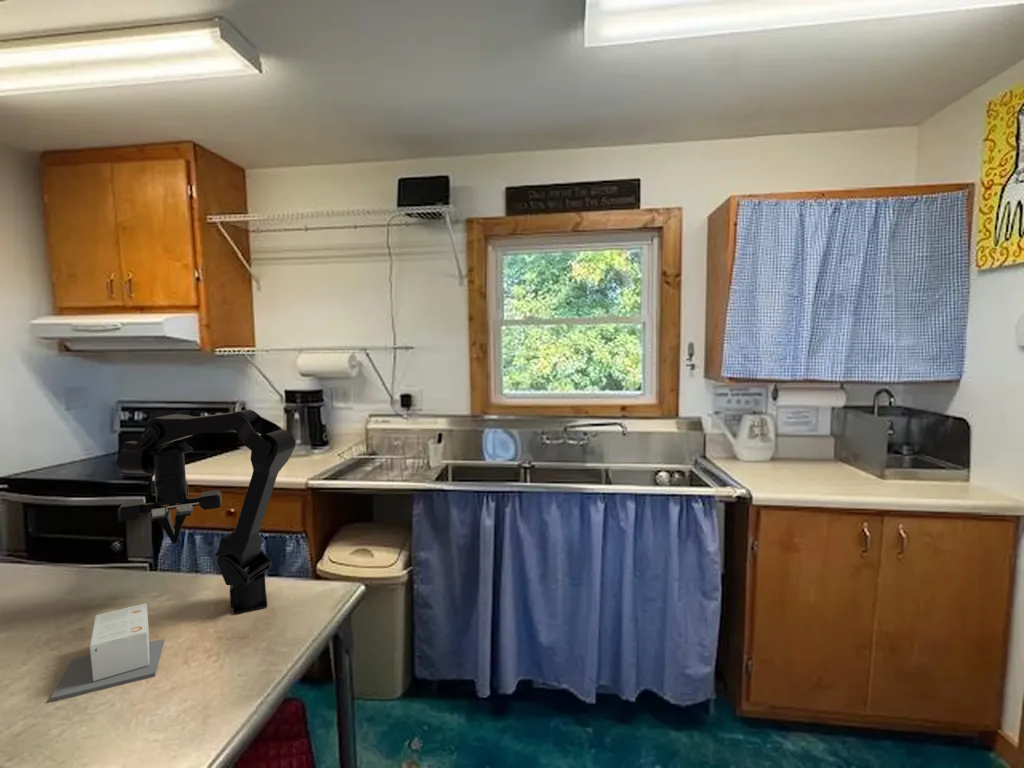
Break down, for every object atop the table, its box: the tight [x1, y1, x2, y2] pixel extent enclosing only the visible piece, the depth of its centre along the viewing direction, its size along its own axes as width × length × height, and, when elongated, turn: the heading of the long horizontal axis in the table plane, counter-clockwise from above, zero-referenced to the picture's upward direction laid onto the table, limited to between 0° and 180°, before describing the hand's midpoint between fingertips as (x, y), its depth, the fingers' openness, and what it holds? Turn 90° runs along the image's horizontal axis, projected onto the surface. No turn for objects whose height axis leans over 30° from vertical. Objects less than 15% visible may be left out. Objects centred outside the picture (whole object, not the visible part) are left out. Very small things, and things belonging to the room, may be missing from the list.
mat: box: [50, 638, 165, 703], centre depth 95 cm, size 14×12×1 cm
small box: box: [89, 602, 150, 682], centre depth 97 cm, size 8×6×13 cm
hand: (175, 543), depth 119 cm, fingers closed
